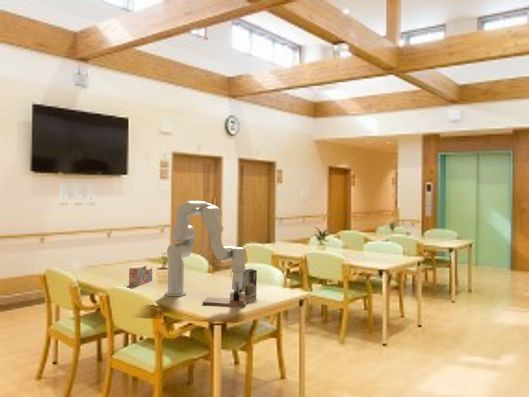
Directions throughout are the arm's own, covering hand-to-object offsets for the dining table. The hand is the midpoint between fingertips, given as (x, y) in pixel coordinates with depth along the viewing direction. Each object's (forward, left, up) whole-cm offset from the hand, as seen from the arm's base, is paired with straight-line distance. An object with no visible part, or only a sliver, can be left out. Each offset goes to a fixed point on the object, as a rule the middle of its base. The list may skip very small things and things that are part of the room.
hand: (237, 299), depth 267 cm
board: (0, -7, -3) cm, 8 cm away
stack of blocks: (-44, -73, -3) cm, 85 cm away
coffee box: (-21, +3, -3) cm, 21 cm away
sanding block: (0, 0, -1) cm, 1 cm away
